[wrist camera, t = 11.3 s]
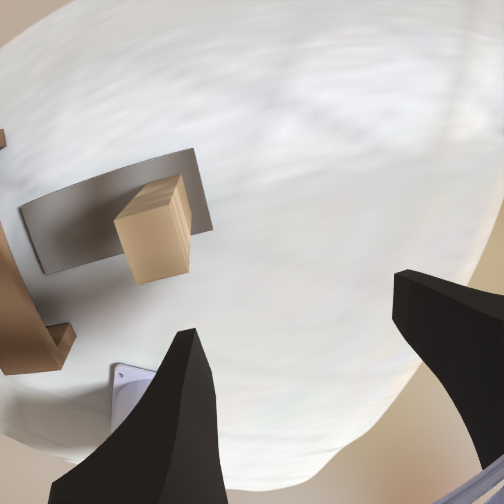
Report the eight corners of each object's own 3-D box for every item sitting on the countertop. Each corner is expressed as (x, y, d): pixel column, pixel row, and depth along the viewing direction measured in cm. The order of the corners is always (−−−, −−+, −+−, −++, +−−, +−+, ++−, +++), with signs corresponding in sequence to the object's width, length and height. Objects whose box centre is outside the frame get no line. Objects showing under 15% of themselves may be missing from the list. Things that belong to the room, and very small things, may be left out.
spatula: (193, 147, 18) (189, 160, 10) (212, 226, 20) (224, 295, 12) (25, 203, 17) (-55, 252, 9) (50, 270, 19) (-10, 345, 11)
